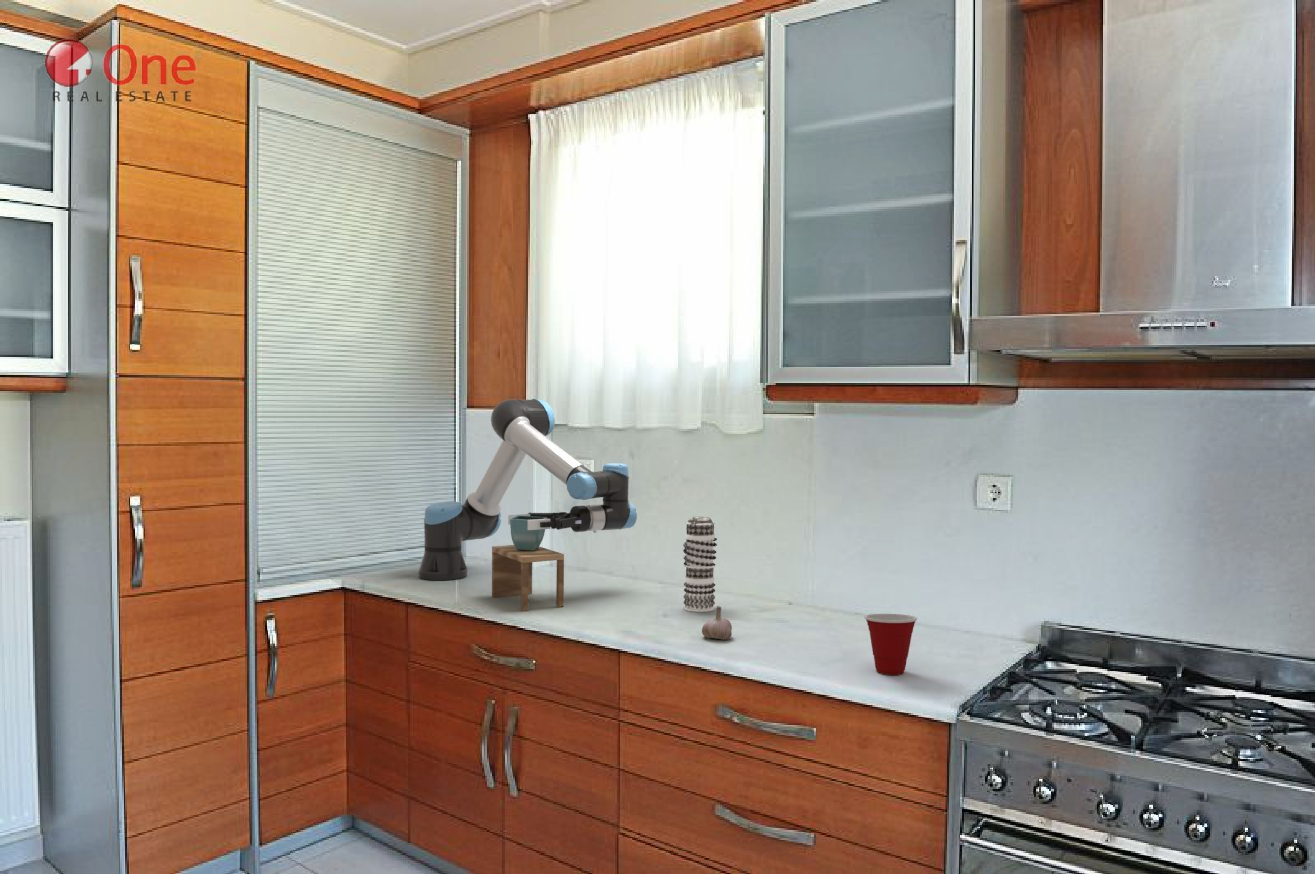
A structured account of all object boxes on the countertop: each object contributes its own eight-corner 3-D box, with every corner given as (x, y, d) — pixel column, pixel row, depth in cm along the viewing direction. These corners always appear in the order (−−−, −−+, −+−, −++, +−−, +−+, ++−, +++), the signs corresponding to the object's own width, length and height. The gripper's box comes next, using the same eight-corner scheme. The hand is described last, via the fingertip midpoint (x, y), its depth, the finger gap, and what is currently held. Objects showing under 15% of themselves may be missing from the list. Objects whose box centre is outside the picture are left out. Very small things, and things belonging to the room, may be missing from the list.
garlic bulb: (736, 641, 230) (736, 608, 230) (706, 642, 229) (706, 608, 229) (727, 634, 238) (727, 601, 237) (698, 635, 236) (698, 602, 236)
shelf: (491, 596, 280) (492, 546, 280) (530, 592, 286) (530, 543, 286) (523, 611, 261) (523, 557, 260) (563, 606, 267) (564, 554, 267)
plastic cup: (903, 663, 211) (904, 609, 211) (924, 677, 201) (925, 619, 200) (855, 665, 210) (856, 610, 209) (874, 679, 199) (875, 621, 199)
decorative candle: (721, 610, 264) (722, 518, 263) (689, 612, 261) (690, 519, 260) (708, 604, 272) (709, 515, 272) (677, 606, 269) (678, 516, 269)
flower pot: (546, 547, 278) (547, 516, 278) (539, 552, 269) (540, 520, 269) (516, 546, 279) (517, 515, 278) (508, 551, 270) (509, 518, 270)
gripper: (606, 536, 272) (536, 541, 261) (567, 526, 293) (501, 530, 282) (606, 509, 272) (536, 513, 261) (567, 501, 293) (501, 504, 282)
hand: (518, 522), depth 271 cm, fingers open, 13 cm apart
